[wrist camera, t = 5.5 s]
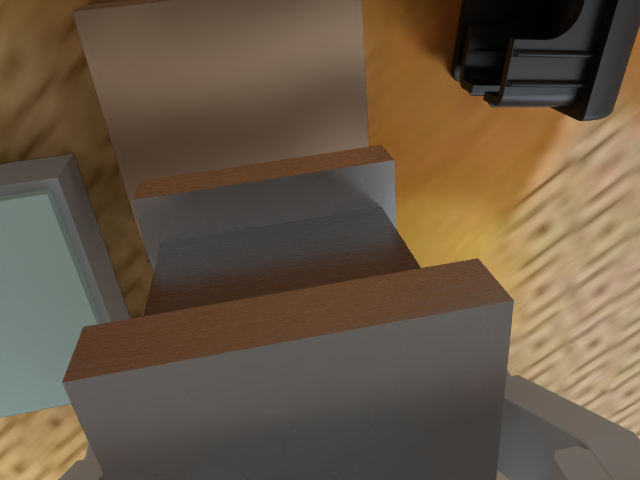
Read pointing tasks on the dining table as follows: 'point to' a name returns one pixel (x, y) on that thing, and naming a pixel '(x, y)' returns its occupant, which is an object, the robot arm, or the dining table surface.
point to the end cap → (546, 53)
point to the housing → (294, 337)
